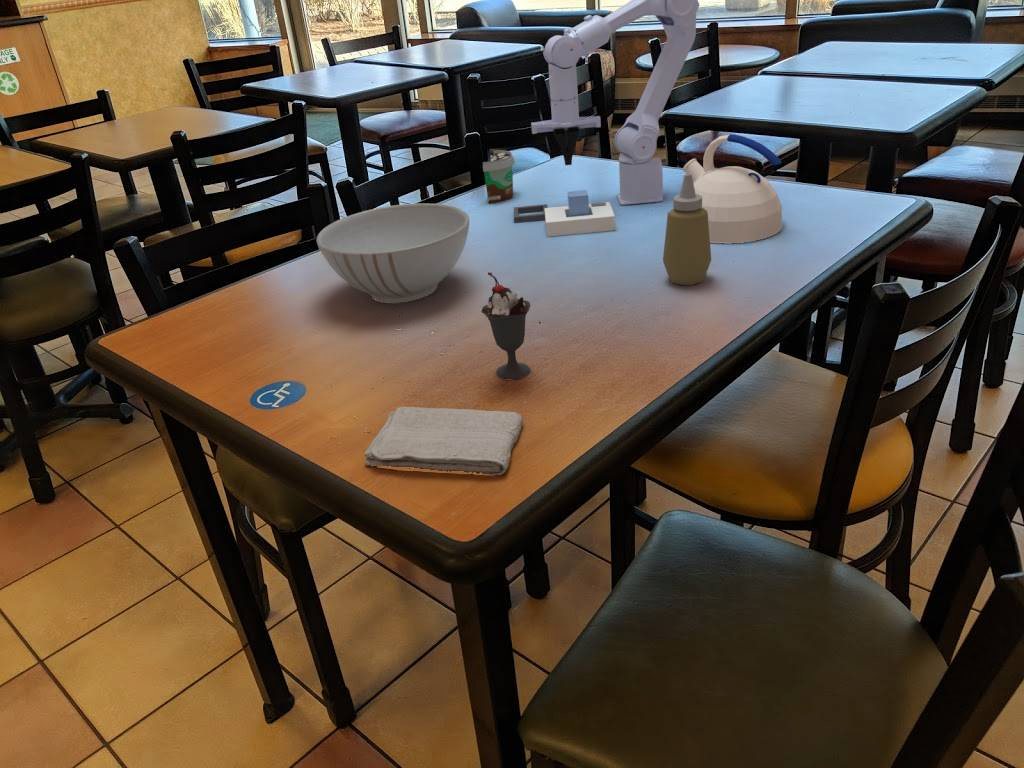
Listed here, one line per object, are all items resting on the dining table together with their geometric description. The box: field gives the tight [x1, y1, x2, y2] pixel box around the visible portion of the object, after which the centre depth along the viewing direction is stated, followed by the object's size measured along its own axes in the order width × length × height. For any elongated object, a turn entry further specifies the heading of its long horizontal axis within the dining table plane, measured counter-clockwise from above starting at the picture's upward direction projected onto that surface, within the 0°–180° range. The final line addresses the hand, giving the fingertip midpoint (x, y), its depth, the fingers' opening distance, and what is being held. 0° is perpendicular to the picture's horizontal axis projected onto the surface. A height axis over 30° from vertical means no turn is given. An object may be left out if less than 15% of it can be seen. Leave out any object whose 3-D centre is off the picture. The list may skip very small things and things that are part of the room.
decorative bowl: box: [316, 202, 470, 304], centre depth 140 cm, size 27×27×12 cm
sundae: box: [481, 272, 532, 380], centre depth 108 cm, size 7×7×15 cm
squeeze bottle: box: [662, 173, 712, 286], centre depth 130 cm, size 8×8×18 cm
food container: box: [482, 149, 515, 204], centre depth 187 cm, size 12×6×10 cm, turn 168°
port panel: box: [544, 201, 616, 237], centre depth 164 cm, size 14×10×3 cm
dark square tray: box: [513, 203, 549, 224], centre depth 174 cm, size 8×8×1 cm
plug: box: [566, 189, 590, 217], centre depth 163 cm, size 4×4×7 cm
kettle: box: [682, 133, 783, 244], centre depth 151 cm, size 20×21×18 cm
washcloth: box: [364, 405, 524, 476], centre depth 96 cm, size 12×18×3 cm, turn 78°
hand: (568, 164), depth 169 cm, fingers closed
